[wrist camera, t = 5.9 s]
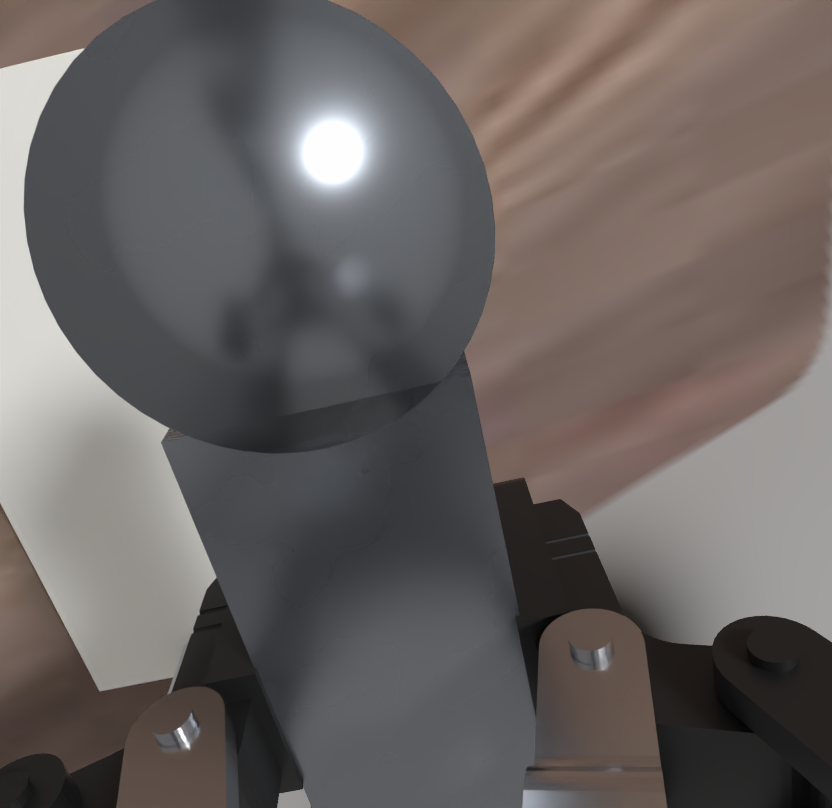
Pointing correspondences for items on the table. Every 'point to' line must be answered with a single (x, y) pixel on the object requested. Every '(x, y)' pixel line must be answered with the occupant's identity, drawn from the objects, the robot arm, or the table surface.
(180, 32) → the ball-topped forked rod
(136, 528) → the peg rest
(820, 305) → the table surface
